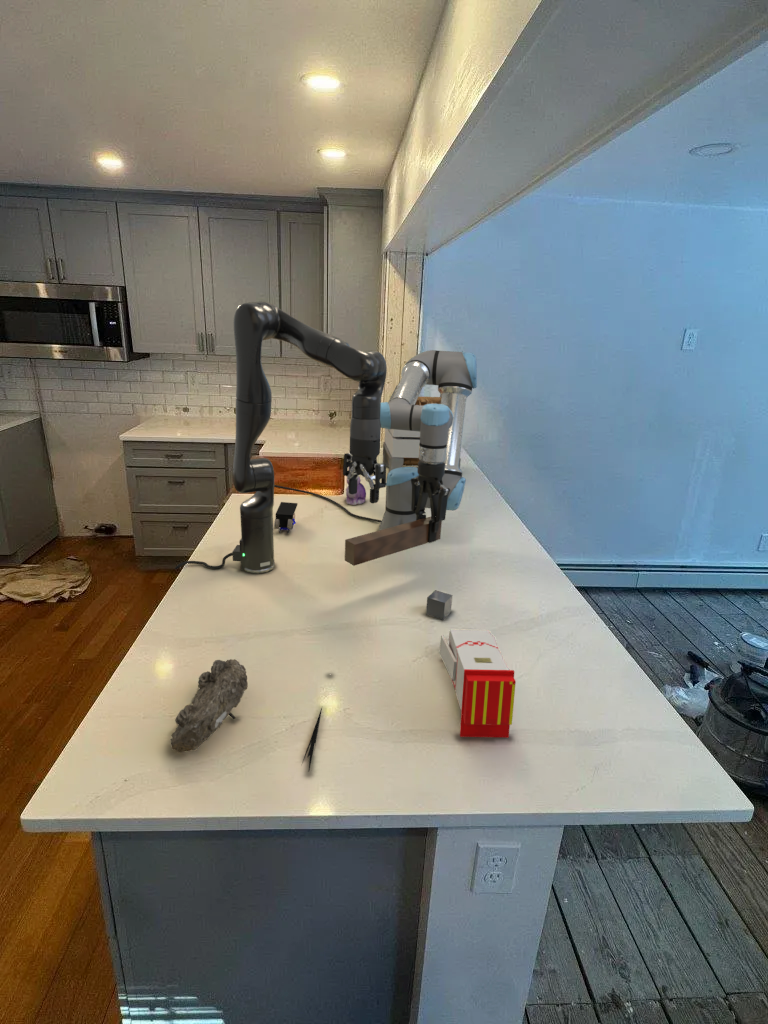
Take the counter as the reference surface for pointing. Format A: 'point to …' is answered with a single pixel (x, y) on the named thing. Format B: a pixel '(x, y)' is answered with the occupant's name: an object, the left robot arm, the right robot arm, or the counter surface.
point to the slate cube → (439, 604)
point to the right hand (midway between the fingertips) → (426, 538)
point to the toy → (479, 682)
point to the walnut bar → (388, 541)
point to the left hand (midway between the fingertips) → (363, 498)
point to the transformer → (405, 442)
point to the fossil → (210, 704)
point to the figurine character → (285, 516)
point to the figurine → (357, 497)
